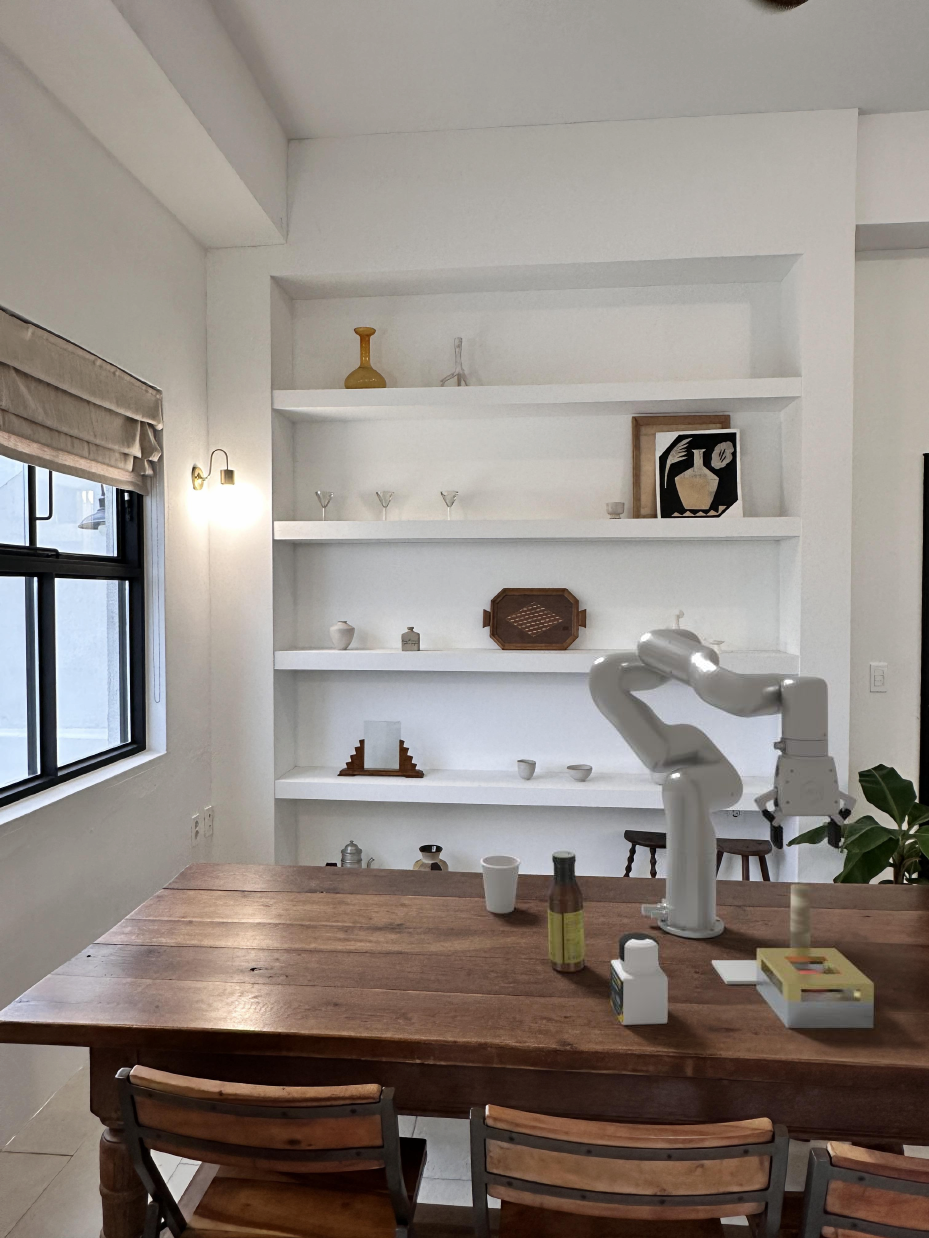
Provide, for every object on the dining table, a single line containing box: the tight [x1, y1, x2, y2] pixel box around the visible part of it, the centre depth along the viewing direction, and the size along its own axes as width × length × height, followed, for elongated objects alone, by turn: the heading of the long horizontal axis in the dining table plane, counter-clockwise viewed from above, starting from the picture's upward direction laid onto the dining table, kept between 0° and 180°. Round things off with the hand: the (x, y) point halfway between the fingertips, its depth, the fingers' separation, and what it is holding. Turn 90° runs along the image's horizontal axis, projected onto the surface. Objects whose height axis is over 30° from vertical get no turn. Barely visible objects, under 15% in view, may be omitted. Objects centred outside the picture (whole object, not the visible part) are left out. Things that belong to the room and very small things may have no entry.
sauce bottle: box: [547, 850, 586, 973], centre depth 148 cm, size 6×6×20 cm
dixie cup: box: [479, 854, 521, 914], centre depth 176 cm, size 8×8×10 cm
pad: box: [711, 959, 757, 985], centre depth 145 cm, size 8×8×1 cm
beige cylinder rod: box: [789, 883, 812, 964], centre depth 145 cm, size 3×3×15 cm
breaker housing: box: [755, 947, 875, 1029], centre depth 133 cm, size 13×13×7 cm
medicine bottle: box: [610, 931, 669, 1026], centre depth 131 cm, size 7×7×12 cm
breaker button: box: [797, 969, 829, 992], centre depth 133 cm, size 5×5×2 cm
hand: (805, 846), depth 146 cm, fingers open, 9 cm apart
